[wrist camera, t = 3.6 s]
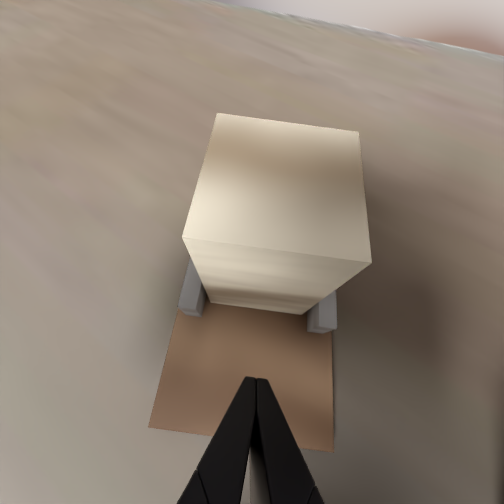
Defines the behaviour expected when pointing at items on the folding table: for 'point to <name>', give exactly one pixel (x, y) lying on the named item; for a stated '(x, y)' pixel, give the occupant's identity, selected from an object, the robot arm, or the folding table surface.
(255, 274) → the block
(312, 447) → the chute
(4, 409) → the folding table surface
